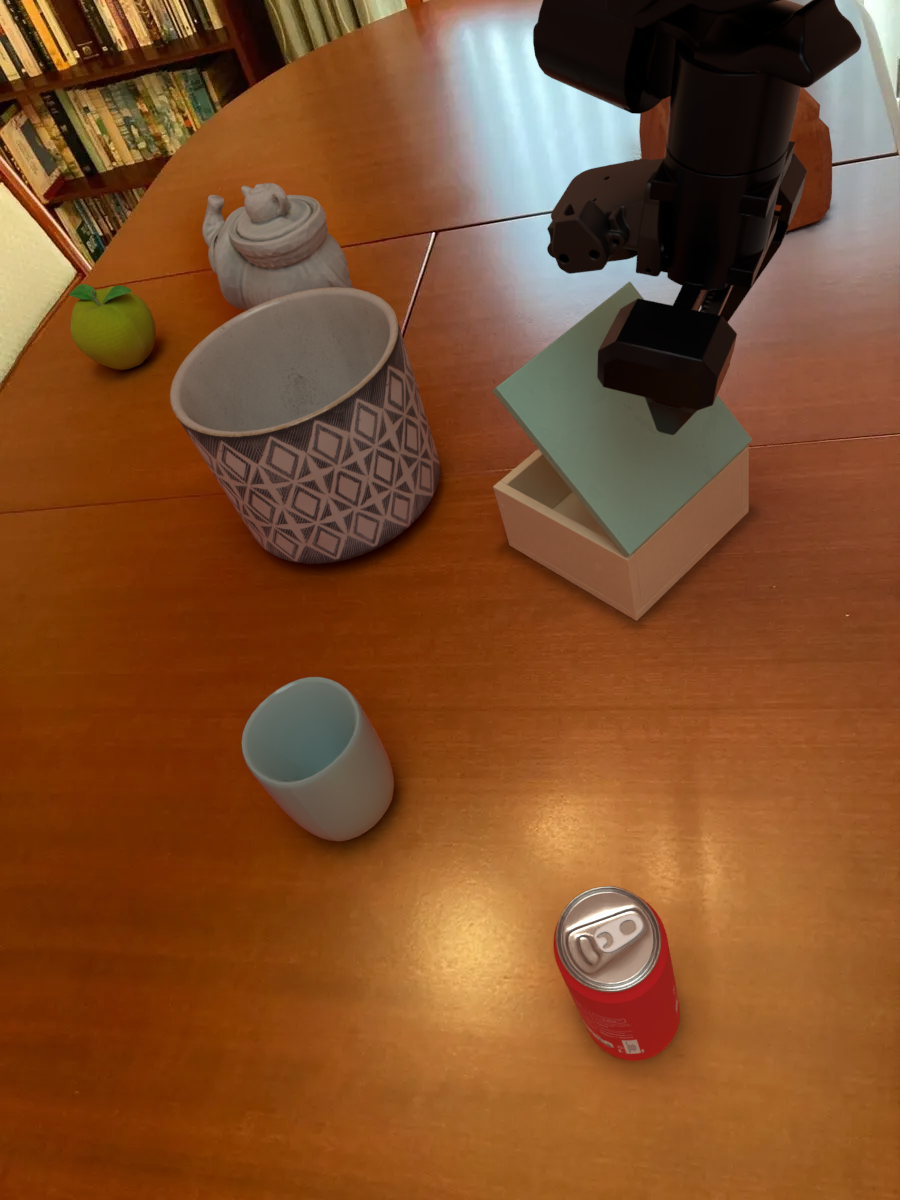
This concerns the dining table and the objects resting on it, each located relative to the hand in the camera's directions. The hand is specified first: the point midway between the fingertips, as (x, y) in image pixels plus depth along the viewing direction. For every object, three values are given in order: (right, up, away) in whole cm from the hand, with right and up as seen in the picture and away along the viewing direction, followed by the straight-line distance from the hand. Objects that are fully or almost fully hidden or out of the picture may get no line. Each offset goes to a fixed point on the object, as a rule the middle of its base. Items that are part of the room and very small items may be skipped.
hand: (689, 380), depth 56 cm
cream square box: (-1, -8, +16) cm, 18 cm away
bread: (+17, +33, +46) cm, 59 cm away
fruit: (-55, +16, +55) cm, 79 cm away
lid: (-3, -1, +6) cm, 7 cm away
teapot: (-32, +17, +49) cm, 61 cm away
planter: (-24, -5, +27) cm, 37 cm away
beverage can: (-5, -37, -7) cm, 38 cm away
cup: (-22, -28, +6) cm, 36 cm away
